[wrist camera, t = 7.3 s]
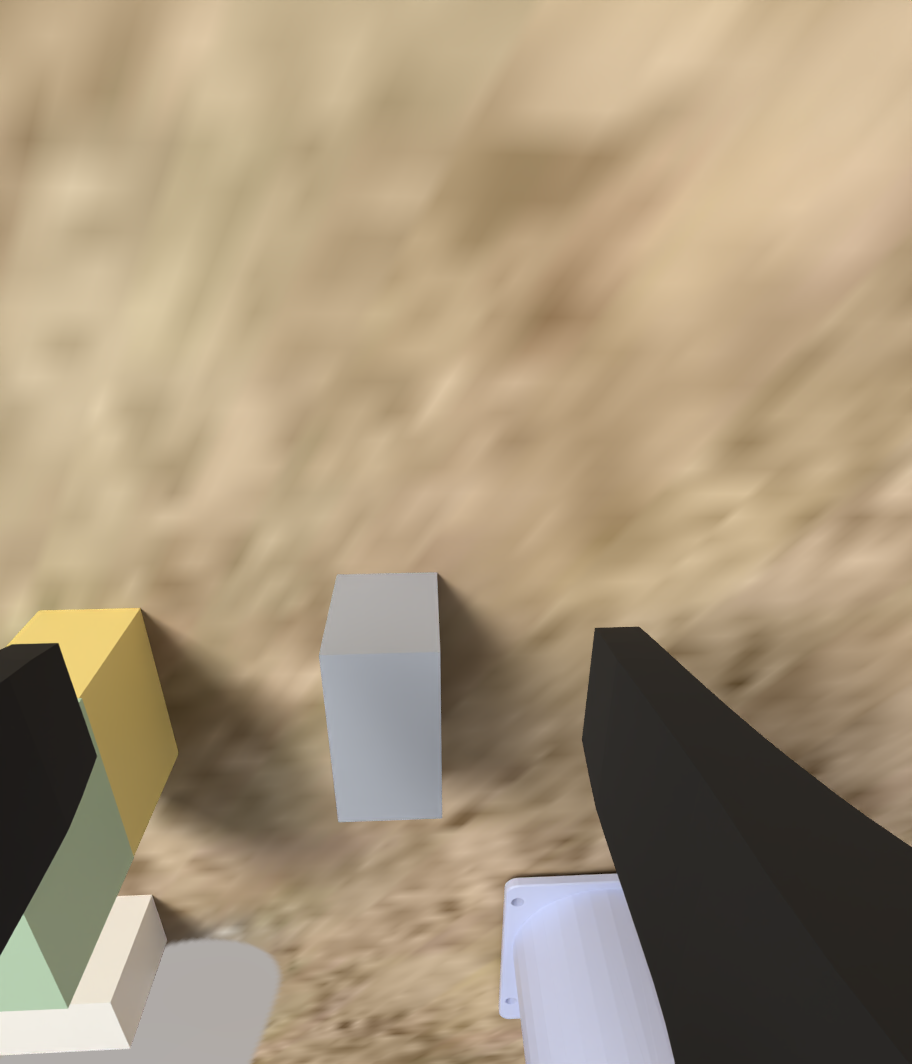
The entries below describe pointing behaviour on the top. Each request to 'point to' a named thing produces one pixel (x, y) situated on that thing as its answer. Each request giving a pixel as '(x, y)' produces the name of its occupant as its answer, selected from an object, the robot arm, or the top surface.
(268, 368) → the top surface
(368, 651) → the grey brick
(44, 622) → the mustard brick
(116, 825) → the green brick
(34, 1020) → the cream brick
